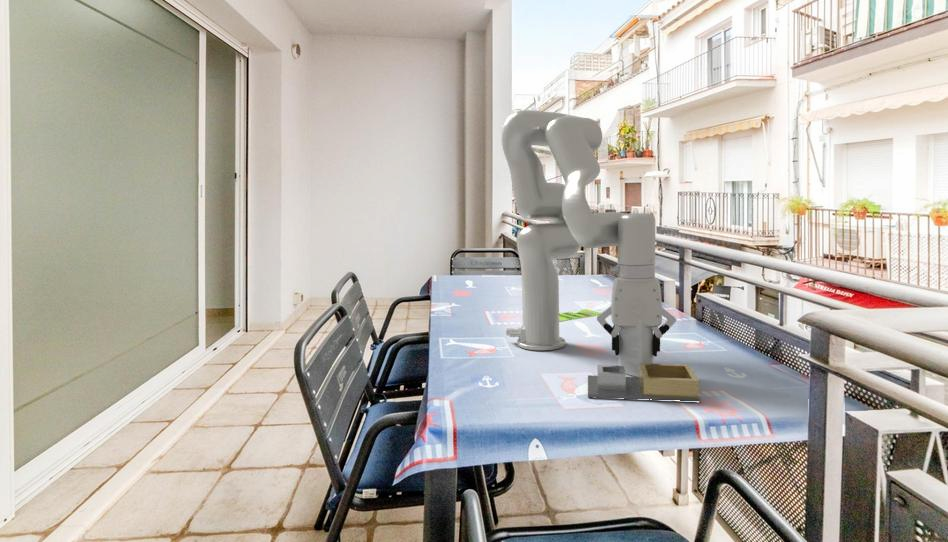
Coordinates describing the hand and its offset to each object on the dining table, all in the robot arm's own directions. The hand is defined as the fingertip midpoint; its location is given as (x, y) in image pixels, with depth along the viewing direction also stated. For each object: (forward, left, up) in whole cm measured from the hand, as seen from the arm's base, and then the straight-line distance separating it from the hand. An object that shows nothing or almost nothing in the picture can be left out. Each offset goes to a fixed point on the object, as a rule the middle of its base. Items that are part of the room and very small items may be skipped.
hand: (635, 353), depth 113 cm
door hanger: (-17, +56, -5) cm, 59 cm away
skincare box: (0, 0, -5) cm, 5 cm away
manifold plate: (0, -10, -4) cm, 11 cm away
